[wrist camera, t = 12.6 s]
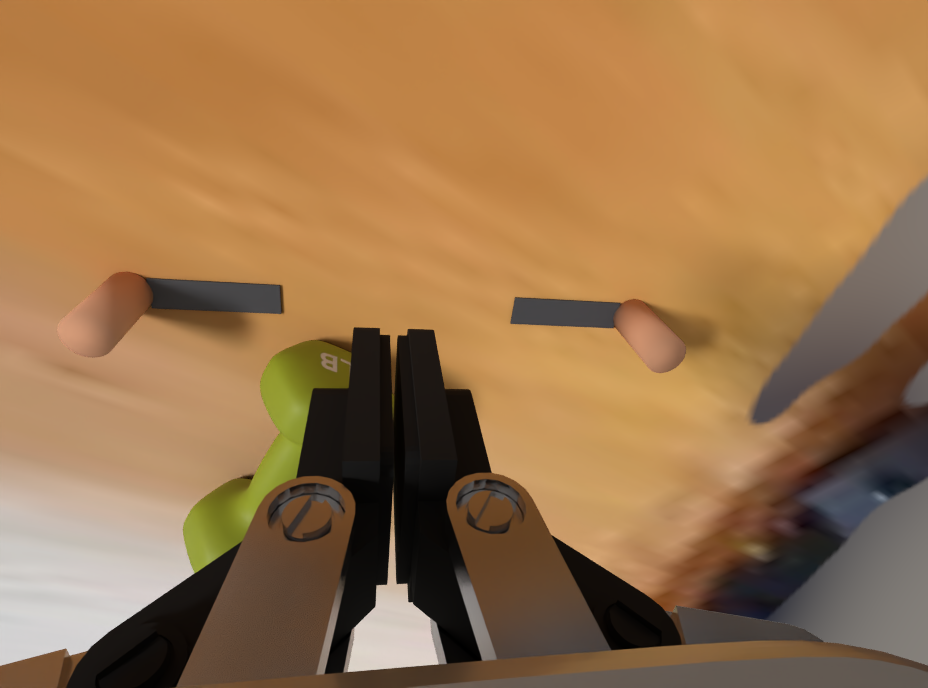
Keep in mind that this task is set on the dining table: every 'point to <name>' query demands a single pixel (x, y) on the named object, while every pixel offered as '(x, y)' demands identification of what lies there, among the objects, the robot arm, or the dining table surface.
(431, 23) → the dining table surface
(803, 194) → the dining table surface
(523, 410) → the dining table surface
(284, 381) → the dumbbell
